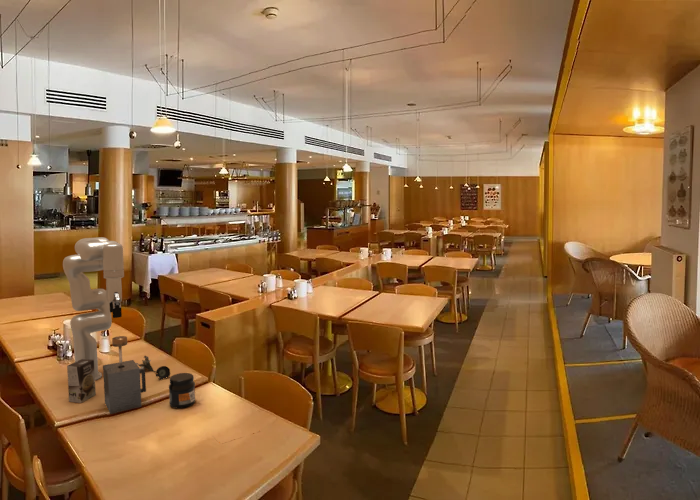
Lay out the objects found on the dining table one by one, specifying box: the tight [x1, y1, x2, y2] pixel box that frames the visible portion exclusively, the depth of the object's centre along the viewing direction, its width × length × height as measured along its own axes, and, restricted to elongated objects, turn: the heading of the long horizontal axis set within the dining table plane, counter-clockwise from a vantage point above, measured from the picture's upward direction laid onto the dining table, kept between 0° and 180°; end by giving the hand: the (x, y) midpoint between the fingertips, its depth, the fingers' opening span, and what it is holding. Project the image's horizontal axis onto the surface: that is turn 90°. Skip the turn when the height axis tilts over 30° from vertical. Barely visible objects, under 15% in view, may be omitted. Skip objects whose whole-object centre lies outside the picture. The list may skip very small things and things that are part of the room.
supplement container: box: [168, 372, 196, 409], centre depth 210 cm, size 10×10×12 cm
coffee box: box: [66, 359, 96, 404], centre depth 215 cm, size 9×6×16 cm
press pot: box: [102, 359, 147, 415], centre depth 209 cm, size 12×15×17 cm
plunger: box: [111, 335, 128, 368], centre depth 207 cm, size 10×10×18 cm
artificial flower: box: [135, 355, 171, 381], centre depth 244 cm, size 9×22×10 cm, turn 43°
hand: (115, 314), depth 204 cm, fingers open, 9 cm apart
